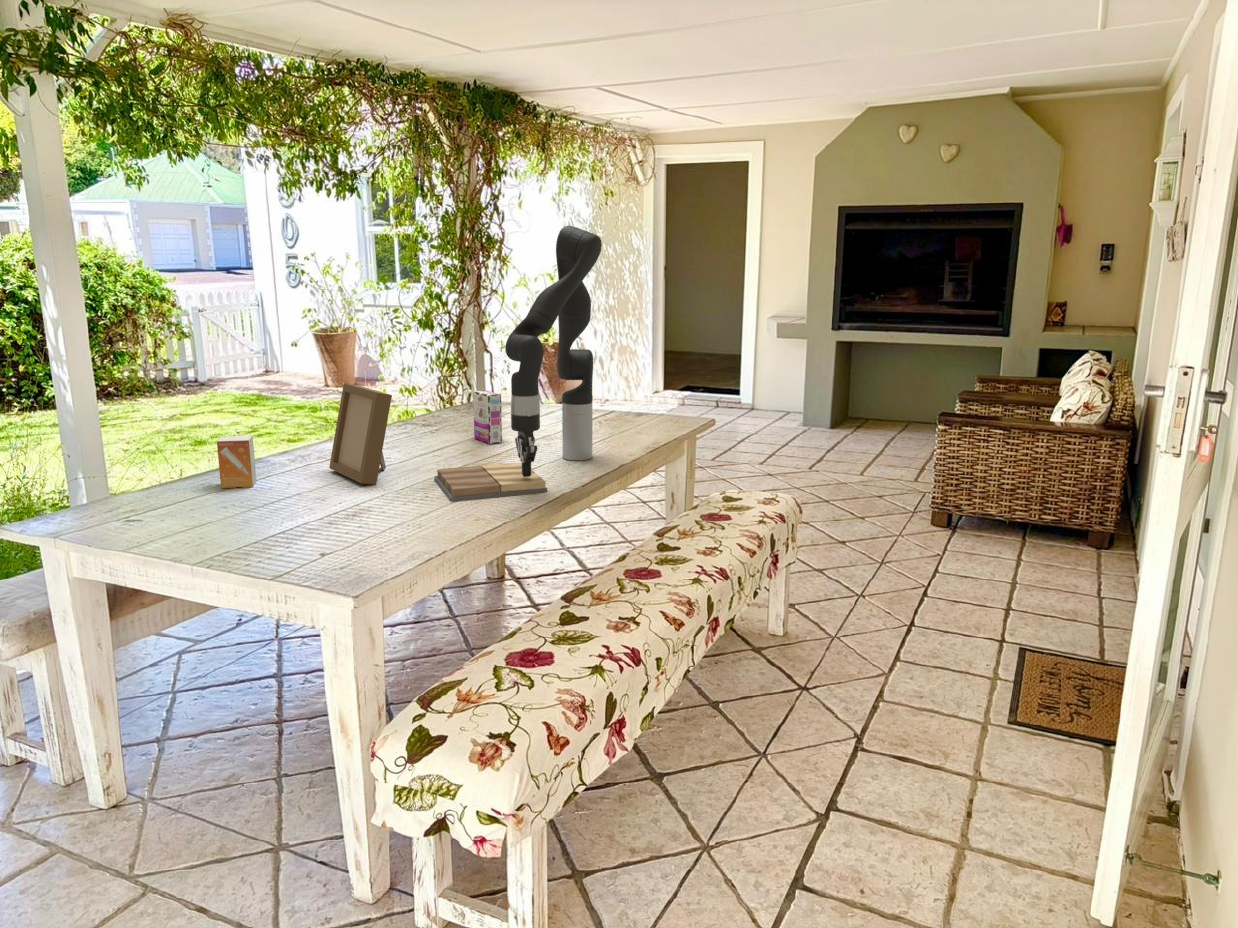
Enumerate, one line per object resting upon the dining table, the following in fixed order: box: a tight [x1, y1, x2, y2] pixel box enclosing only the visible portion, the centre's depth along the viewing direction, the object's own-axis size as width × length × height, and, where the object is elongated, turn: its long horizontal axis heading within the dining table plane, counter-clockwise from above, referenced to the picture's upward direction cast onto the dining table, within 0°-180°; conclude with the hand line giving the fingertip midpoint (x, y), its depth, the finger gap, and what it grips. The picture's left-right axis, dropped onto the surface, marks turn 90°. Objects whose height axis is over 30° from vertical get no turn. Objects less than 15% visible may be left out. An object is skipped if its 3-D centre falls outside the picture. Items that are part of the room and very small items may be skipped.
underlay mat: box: [433, 475, 548, 502], centre depth 235 cm, size 23×26×1 cm
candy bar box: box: [472, 390, 503, 445], centre depth 288 cm, size 11×5×16 cm, turn 37°
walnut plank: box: [436, 465, 500, 497], centre depth 232 cm, size 22×12×2 cm, turn 22°
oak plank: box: [480, 462, 547, 492], centre depth 237 cm, size 22×12×2 cm, turn 22°
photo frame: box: [329, 383, 393, 486], centre depth 242 cm, size 15×22×25 cm
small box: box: [216, 435, 257, 489], centre depth 232 cm, size 8×6×13 cm
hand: (526, 476), depth 231 cm, fingers closed
